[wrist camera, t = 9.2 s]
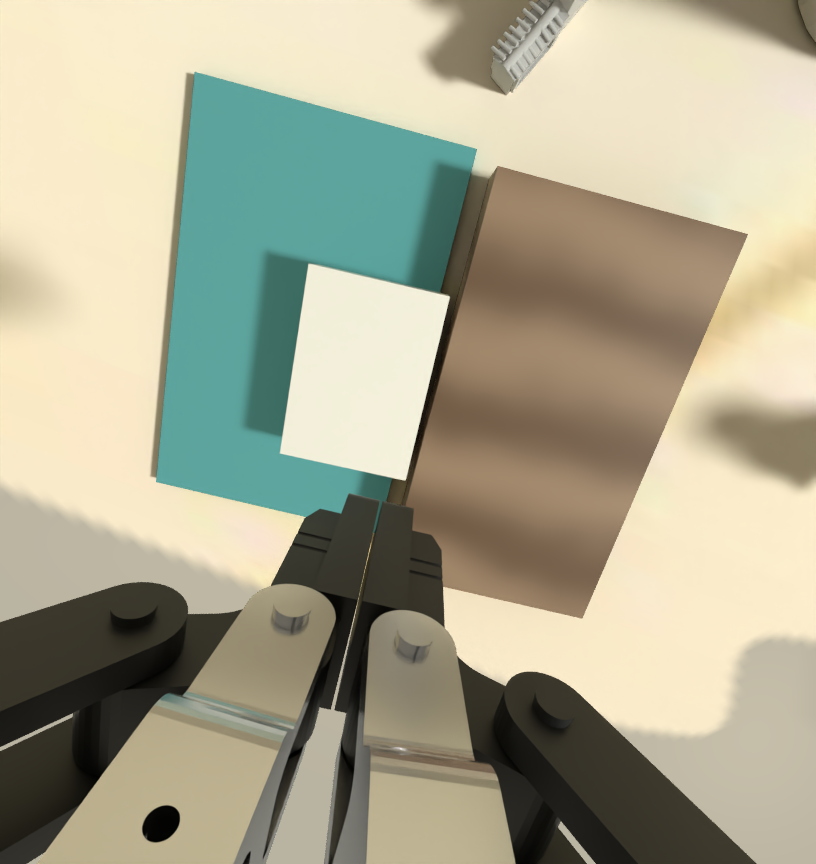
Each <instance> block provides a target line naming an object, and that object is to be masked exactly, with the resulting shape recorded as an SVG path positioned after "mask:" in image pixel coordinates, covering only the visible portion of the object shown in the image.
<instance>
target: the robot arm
mask: <svg viewBox="0 0 816 864" xmlns="http://www.w3.org/2000/svg"><path fill="white" fill-rule="evenodd" d="M798 6H799V10H800V12H801V15H802V18H803V21H804V23H805V26H806V29H807V30H808V32H809V33H810V35H811V36H812V38H813V39H814V41H815V42H816V0H798ZM379 502H380V500H376V499H372V498H368V497H364V496H360V495H355V494H351V493H349V494H348V496H347V499H346V502H345V505H344V507H343V510H342V513H337V512H332V511H328V510H324V509H319V510H317V511H315V512H314V513H312V514H311V515H309V516H307V517H306V518H305V519H304V521H303V523H302V525H301V527H300V529H299V531H298V534H297V535H296V537H295V539H294V541H293V543H292V546H291V547H290V549H289V551H288V553H287V555H286V557H285V559H284V561H283V563H282V565H281V566H280V568H279V570H278V572H277V574H276V576H275V578H274V580H273V582H272V584H271V586H269V587H267V588H264V589H262V590H260V591H259V592H257V593H256V594H254V595H253V596H252V597H251V598H250V600H249V601H248V602H247V604H246V605H245V607H244V608H243V609H242V610H238V611H235V612H230V613H221V614H188V606H187V603H186V601H185V599H184V598H183V596H182V595H181V594H180V593H178V592H177V591H175V590H174V589H172V588H170V587H167V586H165V585H161V584H156V583H149V582H147V583H146V582H137V583H128V584H122V585H118V586H114V587H111V588H108V589H105V590H101V591H99V592H95V593H92V594H89V595H86V596H83V597H79V598H76V599H73V600H70V601H67V602H63V603H60V604H57V605H54V606H50V607H47V608H44V609H41V610H38V611H35V612H32V613H28V614H25V615H22V616H19V617H15V618H13V619H9V620H6V621H3V622H0V747H1V746H3V745H5V744H7V743H10V742H12V741H14V740H16V739H18V738H20V737H23V736H25V735H27V734H29V733H31V732H33V731H35V730H38V729H40V728H42V727H44V726H46V725H48V724H50V723H53V722H54V721H57V720H59V719H61V718H63V717H65V716H67V715H70V714H72V713H73V717H72V718H70V719H68V720H66V721H64V722H62V723H59V724H57V725H55V726H53V727H51V728H49V729H47V730H45V731H42V732H40V733H38V734H36V735H34V736H32V737H30V738H28V739H26V740H23V741H21V742H19V743H17V744H15V745H13V746H11V747H9V748H7V749H4V750H2V751H0V864H27V863H28V862H30V861H32V860H33V859H35V858H36V857H38V856H40V855H41V854H43V853H44V852H45V853H44V854H43V856H42V857H41V858H40V860H39V861H38V863H37V864H266V861H267V858H268V855H269V852H270V850H271V847H272V844H273V841H274V838H275V835H276V832H277V829H278V827H279V824H280V820H281V818H282V815H283V812H284V809H285V806H286V803H287V800H288V798H289V795H290V792H291V789H292V786H293V783H294V780H295V778H296V775H297V772H298V769H299V766H300V763H301V760H302V757H303V754H304V751H305V747H306V743H307V741H308V740H309V738H310V736H311V735H312V733H313V730H314V727H315V723H316V719H317V715H318V711H319V707H321V708H326V709H331V706H332V702H333V698H334V694H335V690H336V686H337V682H338V678H339V674H340V670H341V666H342V662H343V658H344V654H345V650H346V646H347V642H348V637H349V634H350V630H351V626H352V622H353V618H354V614H355V610H356V614H355V618H354V623H353V627H352V632H351V637H350V641H349V646H348V650H347V655H346V659H345V664H344V669H343V673H342V678H341V683H340V687H339V692H338V696H337V701H336V705H335V710H336V711H340V712H345V713H346V718H345V724H344V729H343V734H342V738H341V741H340V745H339V749H338V752H337V757H336V763H335V772H334V780H333V790H332V798H331V807H330V815H329V824H328V833H327V842H326V850H325V859H324V864H587V863H586V862H585V861H584V860H583V858H582V857H581V856H580V855H579V853H578V852H577V851H576V850H575V848H574V847H573V846H572V845H571V843H570V842H569V841H568V840H567V838H566V837H565V836H564V835H563V833H562V832H561V831H560V830H559V829H558V825H559V824H560V822H561V821H562V823H563V824H564V825H565V826H566V827H567V829H568V830H569V831H570V832H571V834H572V835H573V836H574V837H575V839H576V840H577V841H578V842H579V844H580V845H581V846H582V847H583V848H584V850H585V851H586V852H587V853H588V855H589V856H590V857H591V858H592V859H593V861H594V862H595V863H596V864H756V863H755V862H754V861H753V860H752V859H751V858H750V857H749V856H748V855H747V854H746V853H745V852H744V851H743V850H742V849H741V848H740V847H739V846H738V845H736V844H735V843H734V842H733V841H732V840H731V839H730V838H729V837H728V836H727V835H726V834H725V833H724V832H723V831H722V830H721V829H720V828H719V827H718V826H717V825H716V824H715V823H713V822H712V821H711V820H710V819H709V818H708V817H707V816H706V815H705V814H704V813H703V812H702V811H701V810H700V809H699V808H698V807H697V806H695V804H693V802H691V801H690V800H689V799H688V798H687V797H686V796H685V795H684V794H683V793H682V792H681V791H680V790H679V789H678V788H677V787H676V786H675V785H674V784H672V782H671V781H670V780H669V779H667V778H666V777H665V776H664V775H663V774H662V773H661V772H660V771H659V770H658V769H657V768H656V767H655V766H654V765H653V764H652V763H651V762H650V761H649V760H648V759H647V758H645V757H644V756H643V755H642V754H641V753H640V752H639V751H638V750H637V749H636V748H635V747H634V746H633V745H632V744H631V743H630V742H629V741H628V740H627V739H625V737H623V736H622V735H621V734H620V733H619V732H618V731H617V730H616V729H615V728H614V727H613V726H612V725H611V724H610V723H609V722H608V721H607V720H606V719H605V718H604V717H603V716H602V715H601V714H599V713H598V712H597V711H596V710H595V709H594V708H593V707H592V706H591V705H590V704H589V703H588V702H587V701H586V700H585V699H584V698H583V697H582V696H581V695H580V694H578V693H577V692H576V691H575V690H574V689H573V688H571V687H570V686H568V685H567V684H566V683H564V682H562V681H560V680H559V679H556V678H554V677H552V676H549V675H546V674H543V673H538V672H522V673H519V674H516V675H515V676H513V677H512V678H511V679H510V680H509V681H508V683H507V685H506V686H504V685H502V684H500V683H498V682H496V681H494V680H492V679H490V678H488V677H486V676H484V675H482V674H480V673H478V672H477V671H475V670H473V669H472V668H470V667H469V666H468V665H466V664H465V663H464V662H463V661H462V660H461V659H460V658H459V657H458V656H457V652H456V647H455V643H454V641H453V639H452V637H451V635H450V634H449V632H448V631H447V630H446V629H445V627H444V601H443V581H442V578H443V575H442V550H441V548H440V547H439V545H438V544H437V542H436V541H435V539H434V538H433V536H432V535H430V534H426V533H421V532H417V531H413V530H412V527H413V513H414V508H410V507H406V506H402V505H398V504H393V503H389V502H385V501H383V502H382V505H381V509H380V513H379V517H378V521H377V525H376V529H375V533H374V537H373V541H372V545H371V549H370V553H369V557H368V552H369V548H370V543H371V539H372V534H373V530H374V525H375V520H376V516H377V511H378V507H379ZM367 557H368V561H367ZM366 561H367V565H366ZM365 566H366V569H365ZM364 571H365V573H364ZM363 575H364V577H363ZM362 580H363V582H362ZM361 584H362V586H361ZM360 589H361V591H360ZM359 593H360V595H359ZM358 598H359V600H358ZM357 602H358V604H357ZM356 606H357V609H356Z"/></svg>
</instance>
